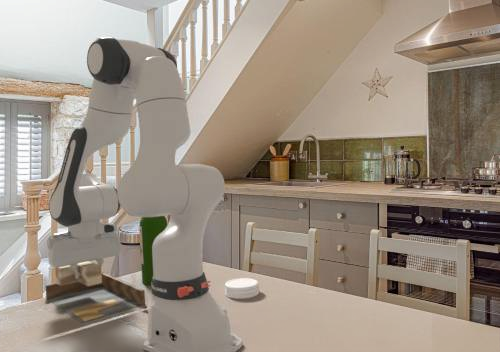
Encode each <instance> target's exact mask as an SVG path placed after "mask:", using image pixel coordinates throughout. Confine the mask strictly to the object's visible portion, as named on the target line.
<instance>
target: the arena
mask: <svg viewBox="0 0 500 352" xmlns="http://www.w3.org/2000/svg"><path fill="white" fill-rule="evenodd" d="M101 274H102V283H100V284H96V285H92V286H86V285H84V284H82V283H80V282H76V283H72V284H67V285H63V286H60V285H58V284H56V282H55V283H49V284H46V285H45V298H46V299H45V300H47V301H49V302H50V303H52V304H53V305H55V306H56V307H57V308H59V309H60V310H61V311H63V312H65V313H66V314H67V315H69V316H70V317H72V318H73V319H75V320H76V321H77V322H78V323H80V324H84V323H87V322H88V323H89V322H91V321H94V320H97V319H101V318H105V317H108V316H110V315H114V314H117V313H122V312H124V311H125V312H126V311H128V310H132V309H134V308H139V307H141V306H145V305H146V297H145V296H146V294H145V293H146V292H145V289H143V288H142V287H141V288H140V287H139V286H136V285H133V284H131V283H128V282H126V281H124V280H122V279H120V278H117V277H115V276H112V275H110V274H108V273H105V272H101Z"/></svg>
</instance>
